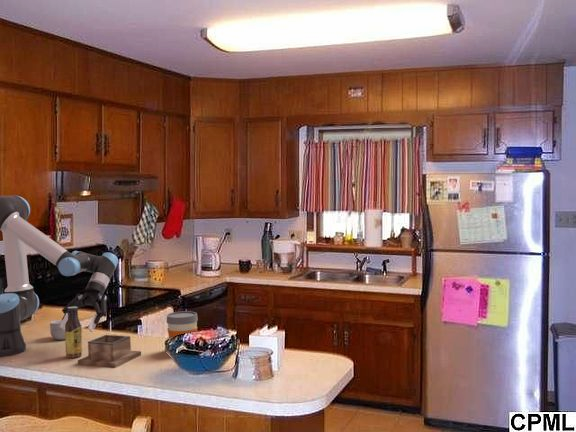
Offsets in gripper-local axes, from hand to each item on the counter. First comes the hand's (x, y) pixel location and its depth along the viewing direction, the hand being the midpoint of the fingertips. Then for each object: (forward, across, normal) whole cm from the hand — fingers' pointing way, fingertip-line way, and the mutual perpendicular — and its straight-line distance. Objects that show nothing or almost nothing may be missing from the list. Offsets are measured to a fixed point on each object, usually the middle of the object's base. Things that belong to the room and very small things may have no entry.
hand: (75, 329), depth 248 cm
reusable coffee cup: (-4, -38, -20) cm, 43 cm away
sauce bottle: (+8, +1, -7) cm, 11 cm away
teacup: (-8, +24, -24) cm, 35 cm away
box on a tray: (+8, -16, -7) cm, 19 cm away
